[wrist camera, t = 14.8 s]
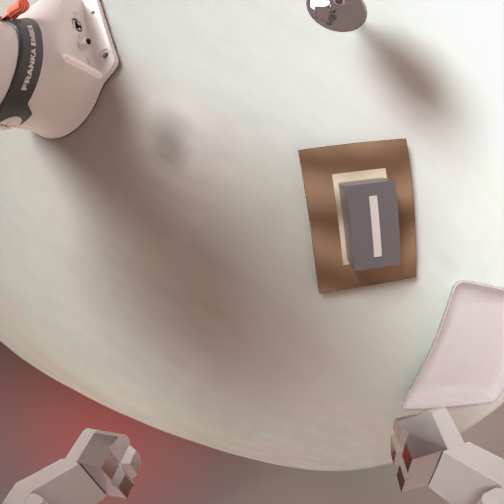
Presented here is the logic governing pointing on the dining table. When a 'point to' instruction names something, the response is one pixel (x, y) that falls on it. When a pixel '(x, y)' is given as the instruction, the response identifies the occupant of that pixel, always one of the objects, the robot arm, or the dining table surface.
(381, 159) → the pin board
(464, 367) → the salad plate
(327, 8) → the wine glass
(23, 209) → the dining table surface
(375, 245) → the socket block
